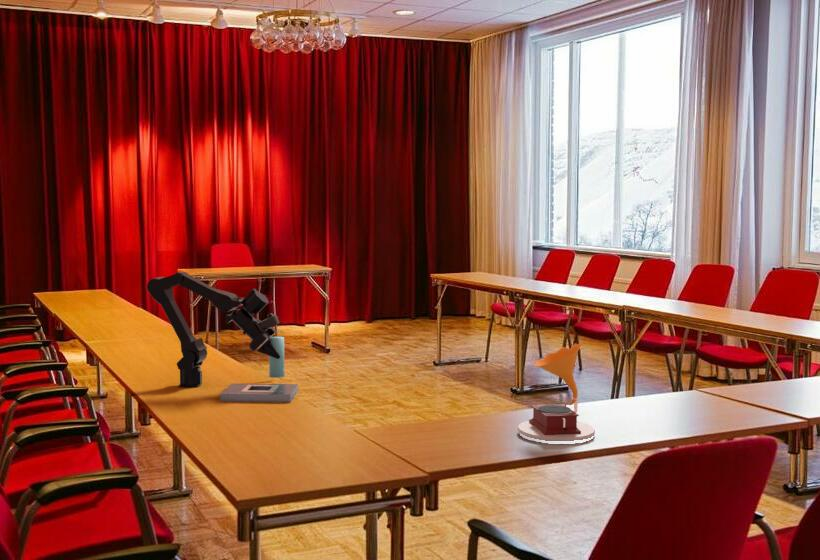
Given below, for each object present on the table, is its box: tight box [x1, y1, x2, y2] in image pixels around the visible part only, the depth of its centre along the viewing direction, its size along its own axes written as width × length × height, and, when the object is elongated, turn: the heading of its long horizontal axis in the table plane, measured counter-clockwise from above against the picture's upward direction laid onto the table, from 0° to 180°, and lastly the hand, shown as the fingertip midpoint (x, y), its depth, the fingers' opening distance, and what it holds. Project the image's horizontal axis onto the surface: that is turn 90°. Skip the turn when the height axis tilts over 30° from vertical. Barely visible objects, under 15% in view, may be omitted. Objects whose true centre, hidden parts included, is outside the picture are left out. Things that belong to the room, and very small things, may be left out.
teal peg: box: [268, 336, 285, 379], centre depth 302 cm, size 5×5×13 cm
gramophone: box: [517, 342, 596, 441], centre depth 243 cm, size 20×20×25 cm
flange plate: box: [219, 382, 299, 403], centre depth 290 cm, size 22×16×3 cm
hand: (280, 356), depth 302 cm, fingers closed on teal peg, 5 cm apart
